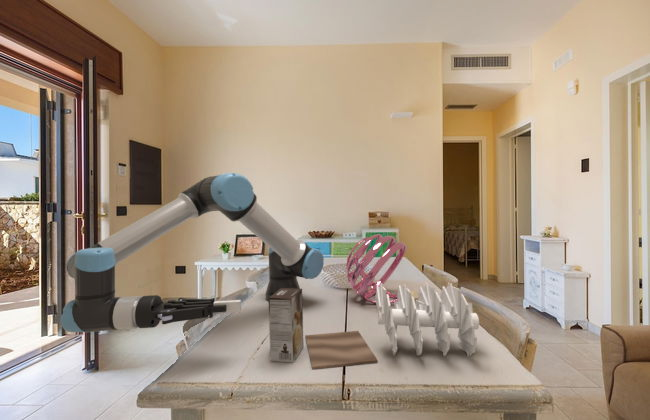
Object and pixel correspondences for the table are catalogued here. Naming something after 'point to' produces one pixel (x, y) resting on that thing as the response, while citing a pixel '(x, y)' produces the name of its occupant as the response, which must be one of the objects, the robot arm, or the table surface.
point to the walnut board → (338, 350)
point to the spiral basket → (367, 259)
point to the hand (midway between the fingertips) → (240, 306)
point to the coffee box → (286, 324)
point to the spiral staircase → (429, 316)
